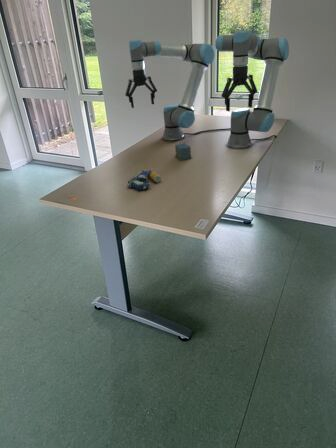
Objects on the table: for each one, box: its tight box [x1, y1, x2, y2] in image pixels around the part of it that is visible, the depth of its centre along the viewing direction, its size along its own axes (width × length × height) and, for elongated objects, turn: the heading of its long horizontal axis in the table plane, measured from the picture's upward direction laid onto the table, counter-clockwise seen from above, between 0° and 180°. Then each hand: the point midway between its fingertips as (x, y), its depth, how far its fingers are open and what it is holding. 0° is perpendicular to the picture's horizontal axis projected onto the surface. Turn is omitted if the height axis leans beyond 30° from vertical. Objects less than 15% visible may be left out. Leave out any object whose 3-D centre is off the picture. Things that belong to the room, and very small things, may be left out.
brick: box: [174, 142, 192, 161], centre depth 211 cm, size 7×9×7 cm
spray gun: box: [126, 169, 162, 191], centre depth 181 cm, size 21×4×15 cm
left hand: (142, 105), depth 211 cm, fingers open, 13 cm apart
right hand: (239, 109), depth 180 cm, fingers open, 13 cm apart
